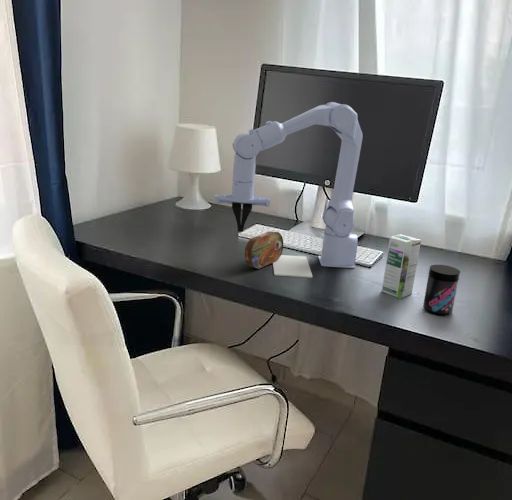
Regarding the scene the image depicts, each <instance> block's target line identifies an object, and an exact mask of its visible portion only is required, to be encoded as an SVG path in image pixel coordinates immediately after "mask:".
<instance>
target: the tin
mask: <svg viewBox="0 0 512 500" xmlns="http://www.w3.org/2000/svg"><path fill="white" fill-rule="evenodd" d="M283 250H284V239H283V236H282V234H281V233H280V232H279V231H266V232H264V233H261V234H259V235H256V236H253V237H252V238H250V239H249V240H248V242H247V243H246V244H245V249H244V260H245V264H246V265H247V266H248V267H250V268H254V269H258V270H260V269H263V268H264V267H267V266H268V265H271V264H273V262H275V261H277V260H278V259H279V258H280V256H281V255H283Z"/></svg>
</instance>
